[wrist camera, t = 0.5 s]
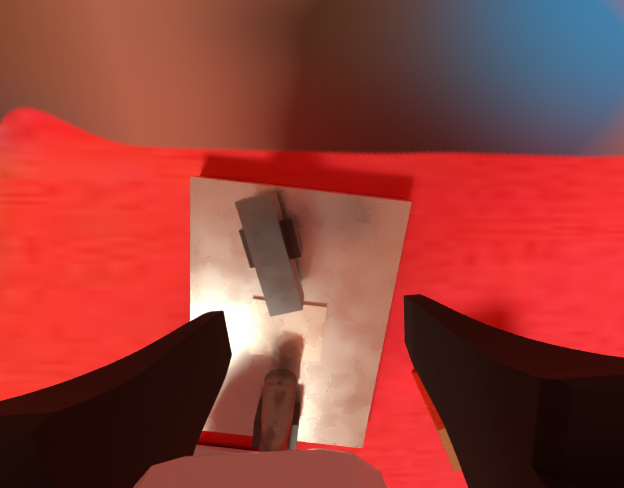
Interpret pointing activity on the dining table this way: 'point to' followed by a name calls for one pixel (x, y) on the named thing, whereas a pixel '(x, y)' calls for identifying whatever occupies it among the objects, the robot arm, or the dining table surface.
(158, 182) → the dining table surface
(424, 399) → the tan block with knob
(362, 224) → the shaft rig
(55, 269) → the dining table surface
